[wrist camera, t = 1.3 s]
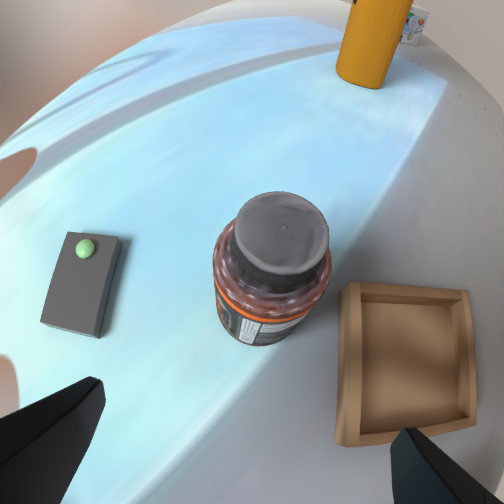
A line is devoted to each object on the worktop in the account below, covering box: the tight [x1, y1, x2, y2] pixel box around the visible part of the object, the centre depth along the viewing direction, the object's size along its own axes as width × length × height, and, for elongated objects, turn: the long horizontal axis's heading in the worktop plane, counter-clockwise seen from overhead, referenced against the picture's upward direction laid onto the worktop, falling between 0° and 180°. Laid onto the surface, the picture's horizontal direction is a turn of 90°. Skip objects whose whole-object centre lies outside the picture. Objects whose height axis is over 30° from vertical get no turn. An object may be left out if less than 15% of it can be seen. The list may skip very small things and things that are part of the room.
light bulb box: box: [399, 3, 429, 46], centre depth 49 cm, size 11×7×11 cm, turn 108°
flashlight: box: [336, 0, 413, 89], centre depth 29 cm, size 10×26×10 cm
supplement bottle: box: [213, 191, 332, 346], centre depth 18 cm, size 6×6×11 cm
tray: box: [334, 281, 477, 447], centre depth 20 cm, size 12×12×2 cm
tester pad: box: [40, 232, 122, 339], centre depth 21 cm, size 8×5×2 cm, turn 175°
